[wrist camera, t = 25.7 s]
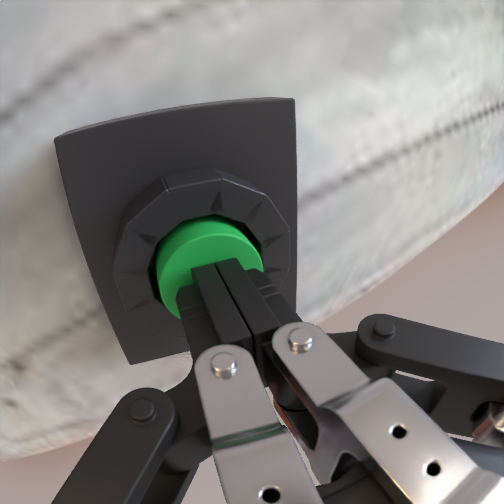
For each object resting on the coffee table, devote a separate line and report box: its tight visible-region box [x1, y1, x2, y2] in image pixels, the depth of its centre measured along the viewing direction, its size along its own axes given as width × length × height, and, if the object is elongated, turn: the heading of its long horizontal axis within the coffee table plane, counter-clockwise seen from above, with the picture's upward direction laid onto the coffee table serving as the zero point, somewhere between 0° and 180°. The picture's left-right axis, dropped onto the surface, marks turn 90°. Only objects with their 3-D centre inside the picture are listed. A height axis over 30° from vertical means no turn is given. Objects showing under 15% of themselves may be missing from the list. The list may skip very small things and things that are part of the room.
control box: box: [54, 97, 297, 365], centre depth 13 cm, size 11×9×4 cm
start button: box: [155, 215, 263, 319], centre depth 11 cm, size 4×4×2 cm
